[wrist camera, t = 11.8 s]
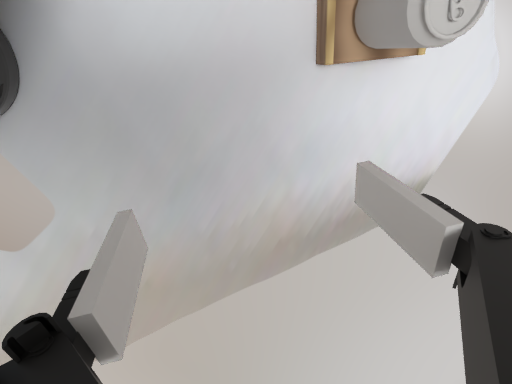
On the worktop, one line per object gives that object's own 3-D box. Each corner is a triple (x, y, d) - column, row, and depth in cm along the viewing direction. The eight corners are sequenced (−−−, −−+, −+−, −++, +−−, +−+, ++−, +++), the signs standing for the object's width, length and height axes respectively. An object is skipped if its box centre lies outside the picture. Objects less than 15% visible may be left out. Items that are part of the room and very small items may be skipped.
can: (408, -32, 32) (511, -73, 21) (406, 39, 35) (493, 34, 25) (348, -14, 31) (422, -47, 21) (353, 55, 35) (418, 57, 25)
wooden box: (316, 64, 38) (325, 65, 35) (317, -27, 33) (329, -35, 30) (408, 54, 39) (424, 54, 36) (422, -34, 35) (442, -42, 32)
